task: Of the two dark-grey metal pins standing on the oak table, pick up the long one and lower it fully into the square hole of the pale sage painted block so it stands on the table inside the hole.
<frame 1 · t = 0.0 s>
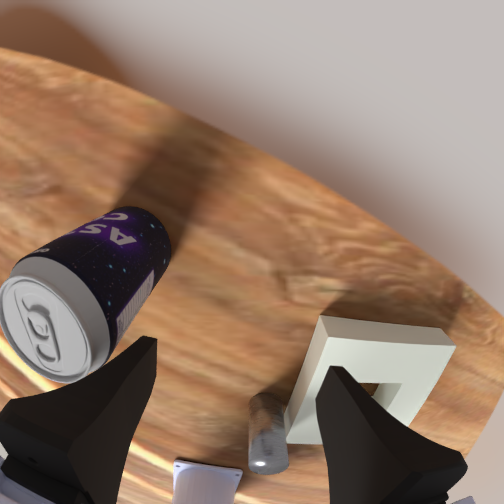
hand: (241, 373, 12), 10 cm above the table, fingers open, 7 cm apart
long pin: (265, 404, 25), on the table
beverage can: (137, 243, 21), on the table
hole block: (362, 379, 25), on the table
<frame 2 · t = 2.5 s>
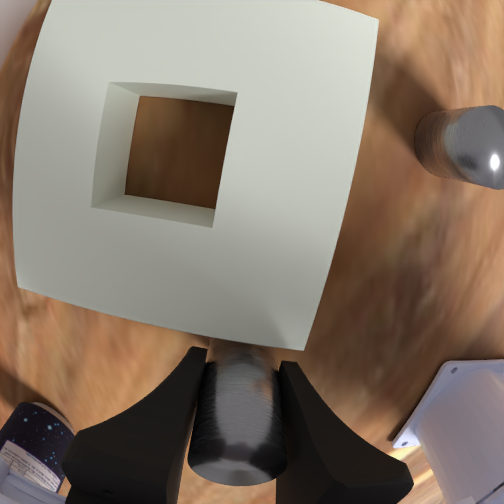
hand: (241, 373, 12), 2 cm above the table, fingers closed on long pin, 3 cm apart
long pin: (242, 340, 14), on the table, touching gripper
beverage can: (52, 419, 17), on the table
short pin: (440, 144, 11), on the table
hole block: (178, 150, 11), on the table
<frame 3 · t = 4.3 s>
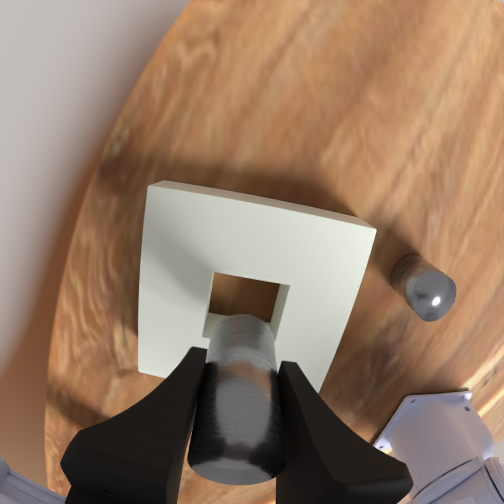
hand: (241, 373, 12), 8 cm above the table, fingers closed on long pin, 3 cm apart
long pin: (242, 341, 14), point 6 cm above the table, touching gripper
short pin: (409, 274, 19), on the table
hole block: (245, 290, 20), on the table
when the fingers open (4 cm above the table, at t = 5.9 s): long pin drops 1 cm, resting in hole block.
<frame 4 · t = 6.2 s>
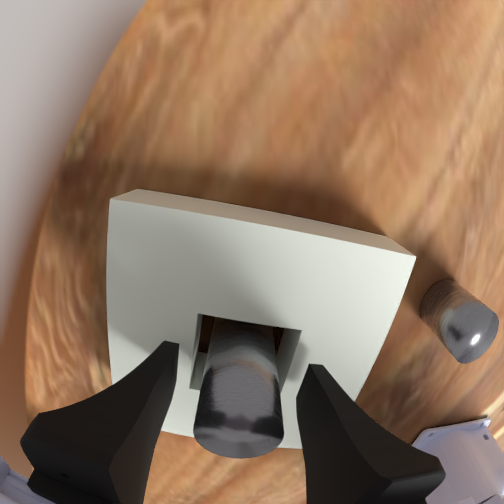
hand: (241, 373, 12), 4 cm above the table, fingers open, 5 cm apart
long pin: (242, 327, 15), resting in hole block
short pin: (440, 302, 15), on the table
hole block: (243, 326, 15), on the table
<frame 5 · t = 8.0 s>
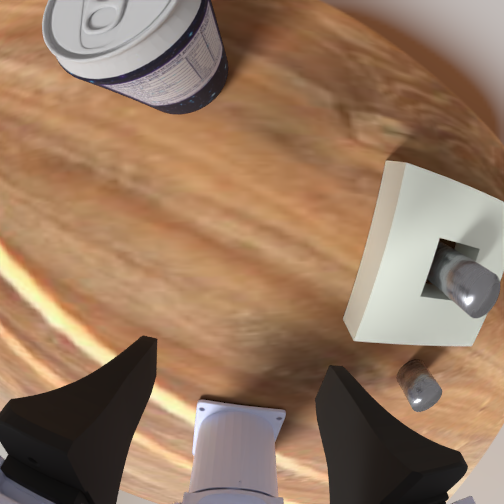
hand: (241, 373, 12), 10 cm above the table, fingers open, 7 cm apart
long pin: (430, 257, 21), resting in hole block
beverage can: (185, 75, 17), on the table
short pin: (410, 372, 24), on the table
hole block: (431, 258, 21), on the table
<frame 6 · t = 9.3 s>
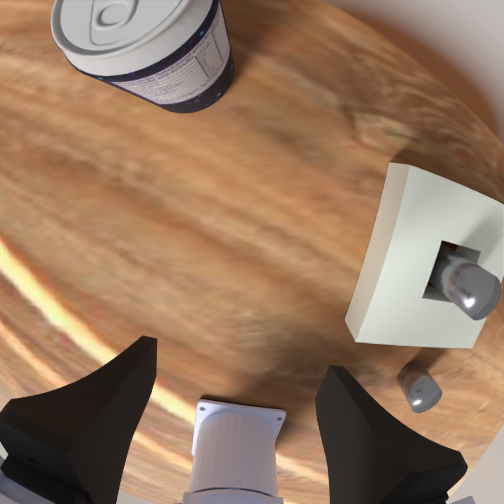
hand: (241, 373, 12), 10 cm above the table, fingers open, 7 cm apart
long pin: (432, 259, 21), resting in hole block
beverage can: (191, 74, 17), on the table
short pin: (410, 373, 24), on the table
hole block: (433, 260, 21), on the table
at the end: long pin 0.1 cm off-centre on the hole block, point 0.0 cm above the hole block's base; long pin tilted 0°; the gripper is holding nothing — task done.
